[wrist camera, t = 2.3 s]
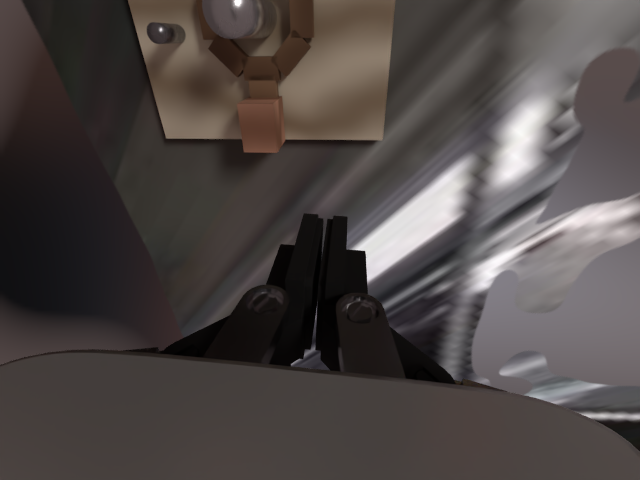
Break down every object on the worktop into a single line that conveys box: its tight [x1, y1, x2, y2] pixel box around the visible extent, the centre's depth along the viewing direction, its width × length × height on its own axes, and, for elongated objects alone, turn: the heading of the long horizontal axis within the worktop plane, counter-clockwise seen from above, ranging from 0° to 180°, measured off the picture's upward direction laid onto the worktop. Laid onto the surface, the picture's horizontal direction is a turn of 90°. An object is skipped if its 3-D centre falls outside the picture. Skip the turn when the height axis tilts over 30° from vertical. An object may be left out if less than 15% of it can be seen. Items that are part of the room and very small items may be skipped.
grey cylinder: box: [147, 0, 277, 44], centre depth 23 cm, size 3×10×8 cm, turn 91°
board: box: [128, 0, 395, 140], centre depth 27 cm, size 20×22×1 cm
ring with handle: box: [196, 0, 314, 153], centre depth 26 cm, size 15×9×4 cm, turn 1°
